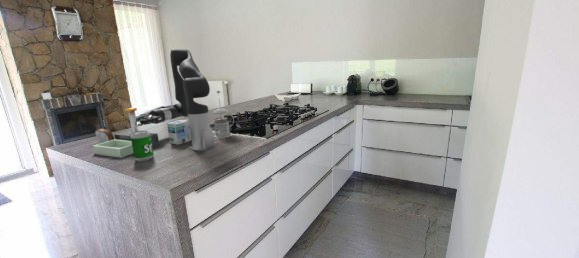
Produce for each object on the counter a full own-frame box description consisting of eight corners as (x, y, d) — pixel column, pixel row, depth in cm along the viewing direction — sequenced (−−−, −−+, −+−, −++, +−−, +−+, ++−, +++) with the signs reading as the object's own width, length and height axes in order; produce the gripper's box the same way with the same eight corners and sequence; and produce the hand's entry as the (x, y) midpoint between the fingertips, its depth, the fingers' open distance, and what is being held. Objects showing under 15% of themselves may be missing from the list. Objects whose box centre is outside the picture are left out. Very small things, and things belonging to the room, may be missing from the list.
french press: (215, 134, 156) (210, 90, 150) (235, 132, 158) (231, 88, 151) (212, 139, 147) (207, 92, 141) (234, 137, 148) (230, 90, 142)
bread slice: (116, 146, 141) (113, 130, 139) (109, 147, 139) (106, 131, 137) (102, 142, 149) (99, 127, 147) (96, 143, 147) (92, 128, 145)
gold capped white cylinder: (145, 144, 142) (138, 107, 137) (137, 147, 138) (130, 109, 133) (138, 143, 144) (131, 107, 139) (130, 146, 140) (123, 109, 135)
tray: (142, 149, 133) (140, 142, 132) (121, 157, 123) (119, 149, 122) (116, 146, 140) (114, 139, 139) (94, 153, 130) (92, 145, 129)
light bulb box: (178, 145, 139) (175, 124, 136) (169, 143, 142) (166, 123, 139) (194, 139, 148) (192, 119, 145) (186, 138, 151) (183, 118, 148)
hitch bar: (159, 145, 140) (157, 133, 138) (147, 149, 134) (145, 137, 132) (128, 141, 148) (126, 130, 147) (116, 145, 142) (114, 134, 140)
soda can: (141, 163, 115) (136, 135, 112) (131, 160, 119) (126, 133, 116) (157, 157, 122) (153, 131, 119) (147, 154, 126) (143, 129, 123)
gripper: (150, 108, 155) (123, 114, 140) (169, 109, 149) (144, 115, 135) (152, 121, 157) (126, 128, 142) (171, 122, 151) (146, 130, 137)
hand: (135, 122), depth 139 cm, fingers open, 8 cm apart
